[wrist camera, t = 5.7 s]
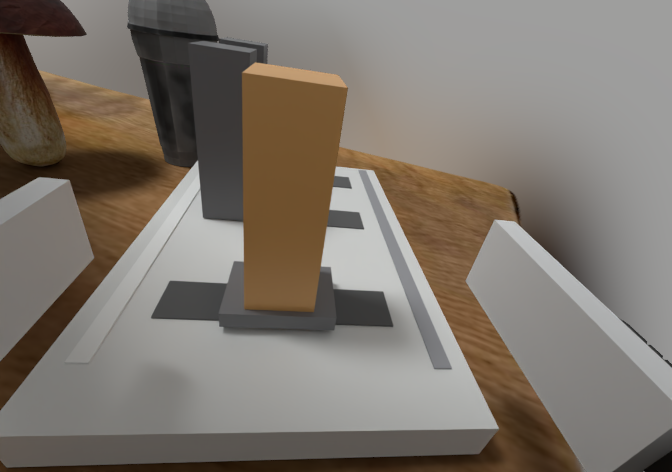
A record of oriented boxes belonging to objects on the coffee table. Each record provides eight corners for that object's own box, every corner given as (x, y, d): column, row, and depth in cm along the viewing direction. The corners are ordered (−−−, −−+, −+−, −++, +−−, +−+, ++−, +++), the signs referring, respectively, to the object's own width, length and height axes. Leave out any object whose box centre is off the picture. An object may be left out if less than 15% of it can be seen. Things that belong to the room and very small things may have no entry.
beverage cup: (238, 162, 36) (234, -83, 25) (178, 178, 30) (140, -126, 20) (195, 143, 39) (176, -83, 28) (134, 155, 33) (80, -121, 23)
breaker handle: (219, 326, 14) (201, 67, 9) (234, 273, 17) (227, 57, 12) (334, 330, 15) (383, 94, 9) (328, 278, 18) (363, 77, 12)
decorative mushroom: (133, 174, 30) (91, -35, 22) (-41, 204, 22) (-202, -98, 14) (92, 139, 35) (47, -38, 27) (-58, 153, 28) (-180, -84, 20)
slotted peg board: (6, 467, 11) (-361, 48, 4) (205, 171, 32) (195, 30, 26) (478, 454, 13) (696, 180, 7) (369, 188, 35) (396, 63, 28)
